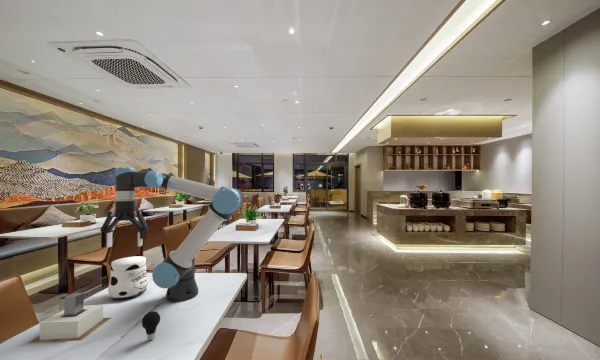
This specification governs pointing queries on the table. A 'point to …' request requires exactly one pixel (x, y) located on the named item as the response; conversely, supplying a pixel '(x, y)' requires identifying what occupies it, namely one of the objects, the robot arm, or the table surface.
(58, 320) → the well
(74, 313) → the brushed grey pillar
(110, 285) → the milk container
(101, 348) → the table surface
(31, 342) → the board
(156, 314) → the light bulb
